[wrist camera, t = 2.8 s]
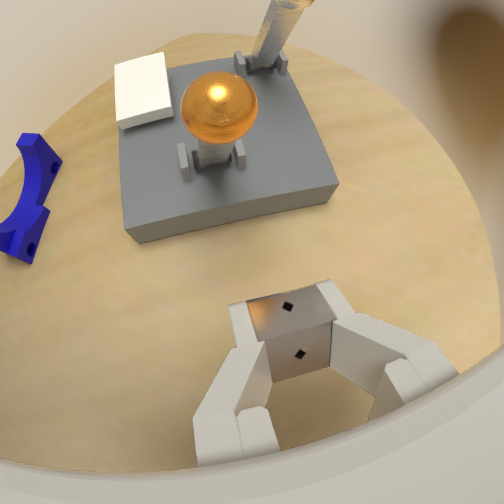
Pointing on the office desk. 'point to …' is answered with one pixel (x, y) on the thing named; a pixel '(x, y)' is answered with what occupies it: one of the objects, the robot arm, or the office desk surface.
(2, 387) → the office desk surface
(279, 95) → the panel
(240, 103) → the lever orange
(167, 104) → the white rectangular block
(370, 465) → the robot arm
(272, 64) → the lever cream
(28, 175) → the cable clip
